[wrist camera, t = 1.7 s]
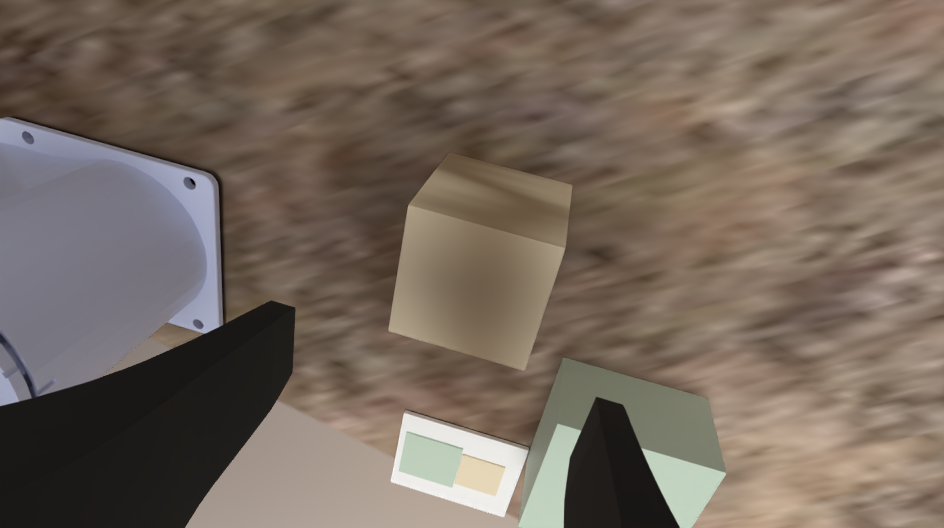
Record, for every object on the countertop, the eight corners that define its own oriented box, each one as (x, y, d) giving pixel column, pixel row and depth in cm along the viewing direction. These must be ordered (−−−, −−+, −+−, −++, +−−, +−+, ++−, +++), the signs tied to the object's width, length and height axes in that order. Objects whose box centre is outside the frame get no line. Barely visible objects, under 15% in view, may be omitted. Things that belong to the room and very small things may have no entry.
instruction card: (391, 478, 29) (389, 483, 28) (405, 409, 26) (403, 414, 26) (504, 514, 28) (503, 519, 28) (529, 447, 26) (528, 452, 25)
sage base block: (528, 451, 26) (517, 526, 23) (563, 354, 23) (557, 423, 20) (654, 489, 26) (663, 571, 22) (706, 395, 23) (726, 472, 19)
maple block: (429, 258, 22) (388, 331, 18) (449, 151, 20) (407, 205, 15) (539, 289, 22) (524, 370, 17) (572, 184, 19) (565, 248, 15)
